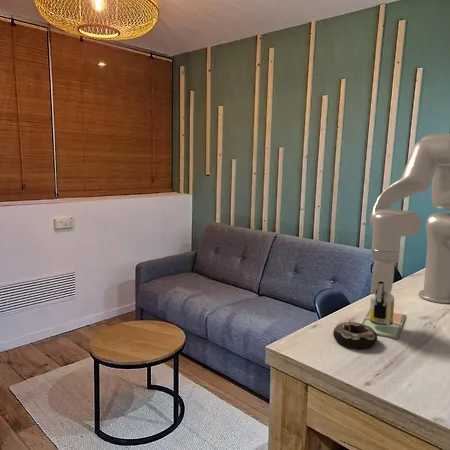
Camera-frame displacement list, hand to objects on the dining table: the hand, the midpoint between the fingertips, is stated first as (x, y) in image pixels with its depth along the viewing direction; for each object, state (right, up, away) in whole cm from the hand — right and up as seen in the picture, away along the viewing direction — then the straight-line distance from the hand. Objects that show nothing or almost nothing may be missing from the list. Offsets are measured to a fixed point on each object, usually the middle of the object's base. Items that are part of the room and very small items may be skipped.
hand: (381, 313), depth 117 cm
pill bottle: (0, -3, +1) cm, 3 cm away
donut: (-10, -7, -7) cm, 14 cm away
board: (+2, -4, +5) cm, 7 cm away
